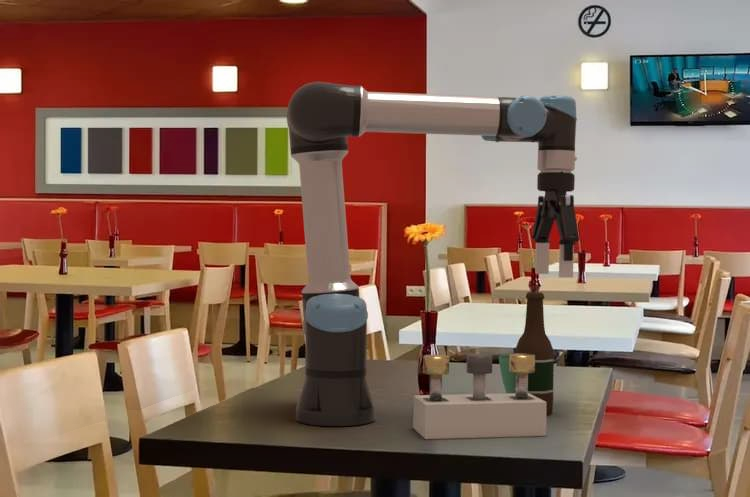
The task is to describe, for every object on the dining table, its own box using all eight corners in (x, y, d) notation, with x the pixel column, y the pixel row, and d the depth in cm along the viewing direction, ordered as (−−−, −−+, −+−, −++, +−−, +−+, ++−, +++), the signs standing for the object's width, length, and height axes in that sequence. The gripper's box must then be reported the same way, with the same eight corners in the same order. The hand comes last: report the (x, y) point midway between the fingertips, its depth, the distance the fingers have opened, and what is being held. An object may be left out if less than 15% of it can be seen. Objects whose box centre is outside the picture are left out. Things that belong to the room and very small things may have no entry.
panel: (425, 439, 188) (425, 404, 188) (413, 427, 198) (413, 395, 198) (546, 435, 192) (546, 402, 192) (528, 425, 202) (528, 393, 202)
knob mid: (470, 402, 192) (470, 357, 192) (463, 398, 197) (463, 354, 197) (494, 401, 193) (495, 357, 193) (487, 397, 198) (488, 353, 197)
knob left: (426, 403, 191) (426, 358, 191) (420, 398, 195) (420, 354, 195) (451, 402, 192) (451, 357, 191) (445, 398, 196) (445, 354, 196)
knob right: (513, 401, 194) (513, 356, 193) (505, 397, 198) (506, 353, 198) (537, 400, 194) (538, 356, 194) (529, 396, 199) (530, 353, 199)
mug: (538, 410, 217) (538, 361, 217) (491, 406, 221) (492, 358, 221) (558, 400, 230) (559, 353, 230) (514, 396, 235) (515, 350, 234)
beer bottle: (527, 417, 210) (528, 294, 209) (506, 410, 217) (508, 291, 216) (561, 415, 213) (562, 293, 212) (539, 408, 220) (541, 290, 219)
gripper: (597, 170, 210) (594, 279, 210) (551, 174, 234) (549, 272, 235) (561, 169, 208) (558, 278, 209) (518, 173, 233) (516, 272, 233)
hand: (553, 275), depth 222 cm, fingers open, 13 cm apart
